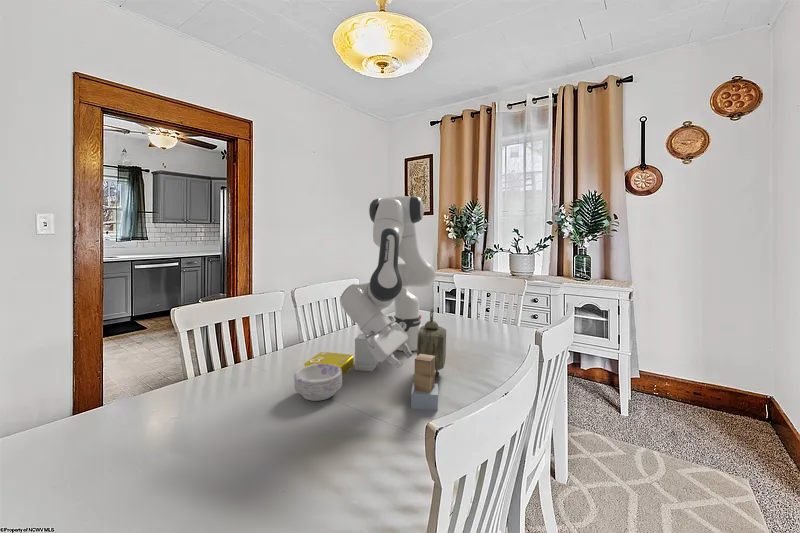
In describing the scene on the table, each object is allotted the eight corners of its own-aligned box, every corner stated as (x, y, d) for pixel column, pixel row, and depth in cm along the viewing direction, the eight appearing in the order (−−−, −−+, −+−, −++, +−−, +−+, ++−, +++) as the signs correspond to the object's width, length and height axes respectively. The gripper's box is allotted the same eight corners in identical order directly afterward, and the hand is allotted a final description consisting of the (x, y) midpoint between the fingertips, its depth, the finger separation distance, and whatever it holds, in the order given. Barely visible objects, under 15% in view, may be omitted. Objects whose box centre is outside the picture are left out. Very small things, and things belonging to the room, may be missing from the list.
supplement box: (372, 371, 140) (372, 339, 139) (354, 370, 142) (354, 338, 141) (377, 364, 148) (377, 334, 146) (360, 363, 149) (359, 332, 148)
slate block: (412, 397, 120) (412, 382, 119) (437, 398, 119) (437, 383, 119) (411, 409, 112) (411, 393, 111) (437, 410, 111) (438, 394, 111)
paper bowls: (284, 401, 117) (284, 376, 116) (312, 382, 131) (311, 360, 130) (326, 409, 111) (326, 384, 110) (350, 389, 126) (350, 366, 125)
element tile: (339, 379, 134) (339, 367, 134) (302, 375, 138) (302, 362, 137) (355, 365, 148) (355, 353, 148) (321, 361, 152) (321, 350, 152)
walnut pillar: (419, 383, 118) (419, 353, 117) (434, 386, 116) (435, 355, 115) (414, 390, 114) (414, 358, 112) (429, 393, 112) (430, 361, 111)
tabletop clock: (422, 367, 145) (423, 304, 143) (445, 369, 143) (446, 305, 141) (416, 382, 131) (417, 313, 129) (442, 384, 129) (443, 314, 127)
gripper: (369, 330, 108) (400, 367, 106) (394, 314, 127) (421, 345, 125) (356, 343, 110) (386, 379, 108) (383, 326, 129) (409, 356, 127)
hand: (405, 361), depth 117 cm, fingers open, 8 cm apart
